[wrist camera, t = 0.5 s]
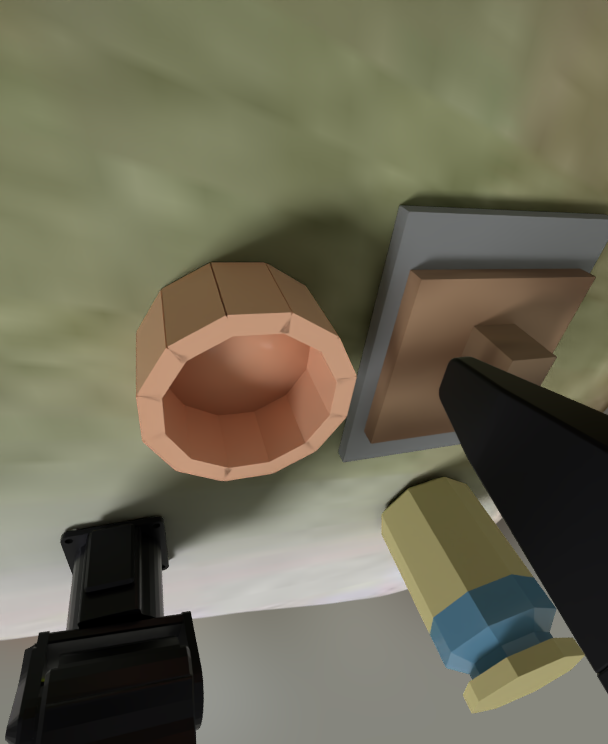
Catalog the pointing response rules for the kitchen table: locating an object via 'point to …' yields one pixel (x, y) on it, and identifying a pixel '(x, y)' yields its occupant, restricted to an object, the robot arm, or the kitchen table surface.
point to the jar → (475, 594)
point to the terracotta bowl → (238, 372)
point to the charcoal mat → (458, 251)
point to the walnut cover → (468, 338)
